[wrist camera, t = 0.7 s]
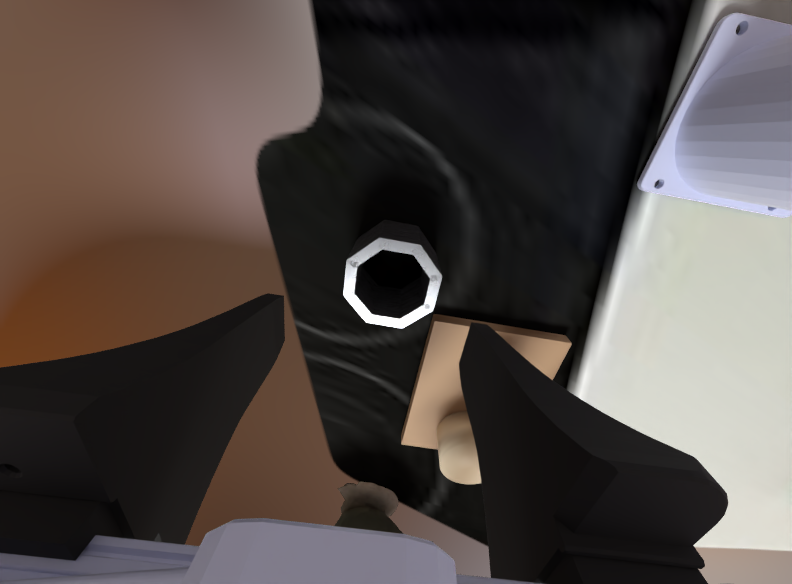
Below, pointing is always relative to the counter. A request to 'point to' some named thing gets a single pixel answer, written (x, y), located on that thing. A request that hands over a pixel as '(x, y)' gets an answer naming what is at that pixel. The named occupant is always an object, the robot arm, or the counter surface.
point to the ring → (387, 301)
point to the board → (442, 394)
